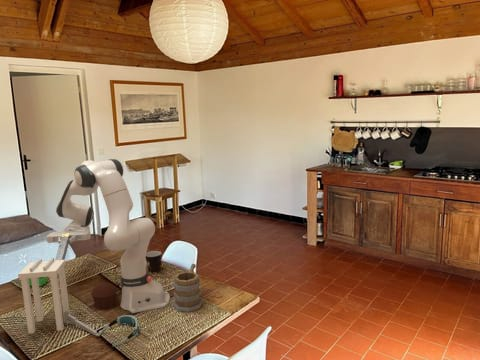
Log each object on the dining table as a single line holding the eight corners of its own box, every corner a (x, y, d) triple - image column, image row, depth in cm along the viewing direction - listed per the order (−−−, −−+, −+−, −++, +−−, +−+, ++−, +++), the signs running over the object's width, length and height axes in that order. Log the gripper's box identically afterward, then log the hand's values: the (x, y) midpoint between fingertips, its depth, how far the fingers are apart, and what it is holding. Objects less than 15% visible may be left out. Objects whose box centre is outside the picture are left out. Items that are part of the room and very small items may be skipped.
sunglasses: (146, 332, 152) (144, 321, 150) (113, 355, 141) (111, 343, 140) (126, 320, 161) (124, 310, 159) (94, 341, 150) (91, 330, 149)
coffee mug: (145, 268, 213) (144, 252, 211) (161, 266, 216) (160, 250, 214) (147, 277, 202) (145, 259, 200) (163, 274, 205) (162, 257, 203)
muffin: (123, 300, 178) (121, 280, 176) (109, 312, 167) (107, 291, 166) (101, 297, 181) (99, 278, 179) (86, 309, 170) (84, 288, 169)
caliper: (63, 324, 159) (62, 310, 158) (66, 323, 160) (64, 309, 159) (97, 337, 149) (96, 322, 148) (99, 335, 150) (98, 321, 149)
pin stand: (71, 315, 166) (64, 256, 161) (63, 330, 154) (55, 267, 149) (37, 318, 164) (29, 258, 159) (26, 334, 152) (17, 270, 147)
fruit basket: (50, 281, 201) (48, 261, 199) (40, 289, 192) (37, 268, 190) (30, 281, 202) (28, 261, 200) (19, 288, 193) (16, 268, 191)
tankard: (197, 313, 165) (195, 281, 162) (169, 310, 167) (167, 279, 165) (209, 291, 184) (208, 262, 181) (185, 290, 186) (183, 261, 184)
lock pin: (70, 237, 187) (69, 233, 185) (59, 278, 169) (58, 273, 167) (64, 237, 187) (62, 233, 185) (52, 278, 169) (50, 274, 167)
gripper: (50, 228, 194) (40, 236, 180) (92, 225, 197) (85, 233, 183) (52, 239, 195) (42, 249, 182) (93, 237, 198) (86, 246, 184)
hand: (64, 241), depth 182 cm, fingers closed on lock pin, 3 cm apart
